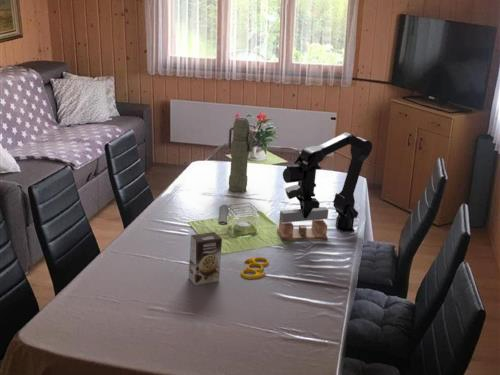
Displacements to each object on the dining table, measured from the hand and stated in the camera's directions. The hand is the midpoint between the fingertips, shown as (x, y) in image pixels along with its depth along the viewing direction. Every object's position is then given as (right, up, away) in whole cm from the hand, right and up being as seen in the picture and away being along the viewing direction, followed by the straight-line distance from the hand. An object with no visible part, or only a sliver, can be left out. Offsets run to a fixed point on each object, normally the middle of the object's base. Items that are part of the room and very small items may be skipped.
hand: (304, 216), depth 245 cm
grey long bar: (0, -1, 0) cm, 1 cm away
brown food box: (-38, -20, -37) cm, 57 cm away
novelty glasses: (-20, -18, -27) cm, 38 cm away
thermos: (-28, +10, +50) cm, 58 cm away
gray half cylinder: (-33, -1, +18) cm, 38 cm away
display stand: (-1, -8, +3) cm, 9 cm away
